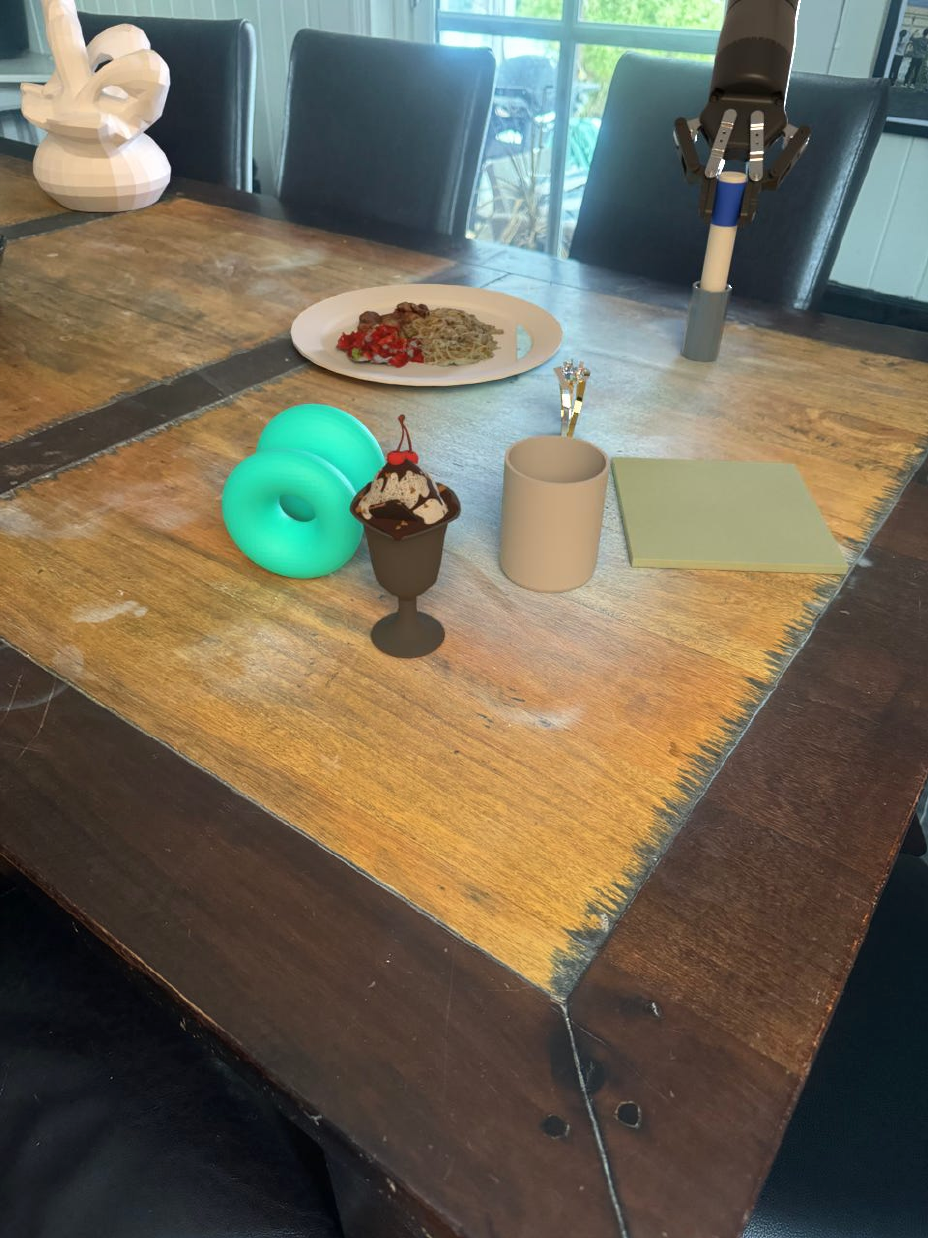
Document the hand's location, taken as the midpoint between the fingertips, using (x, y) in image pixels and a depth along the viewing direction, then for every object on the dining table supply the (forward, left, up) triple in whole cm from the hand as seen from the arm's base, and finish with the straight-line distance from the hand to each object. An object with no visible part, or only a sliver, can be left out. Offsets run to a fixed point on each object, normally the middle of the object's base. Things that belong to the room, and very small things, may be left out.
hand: (725, 221), depth 89 cm
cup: (+18, +38, -15) cm, 45 cm away
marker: (0, -2, -10) cm, 10 cm away
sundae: (+28, +48, -15) cm, 57 cm away
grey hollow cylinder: (0, -2, -15) cm, 15 cm away
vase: (+85, -63, -15) cm, 107 cm away
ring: (+16, +20, -15) cm, 29 cm away
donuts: (+36, +38, -15) cm, 54 cm away
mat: (+4, +31, -15) cm, 35 cm away
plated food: (+30, -4, -15) cm, 33 cm away
